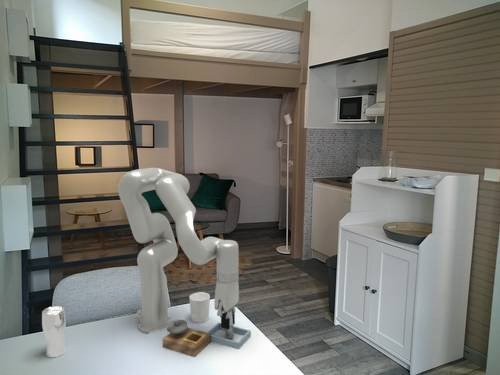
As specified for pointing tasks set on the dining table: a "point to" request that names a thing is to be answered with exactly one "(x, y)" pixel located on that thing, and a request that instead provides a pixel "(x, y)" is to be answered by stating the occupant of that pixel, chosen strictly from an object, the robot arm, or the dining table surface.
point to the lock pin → (230, 332)
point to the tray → (226, 341)
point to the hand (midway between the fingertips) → (227, 325)
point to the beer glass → (54, 330)
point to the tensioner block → (185, 338)
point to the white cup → (199, 306)
